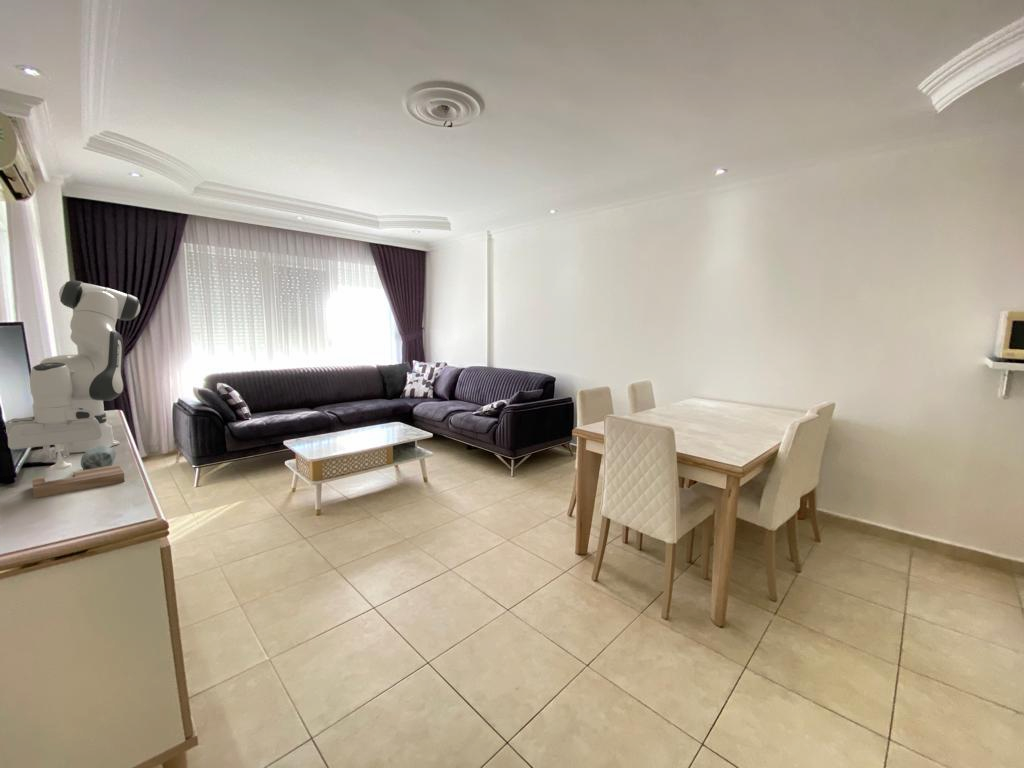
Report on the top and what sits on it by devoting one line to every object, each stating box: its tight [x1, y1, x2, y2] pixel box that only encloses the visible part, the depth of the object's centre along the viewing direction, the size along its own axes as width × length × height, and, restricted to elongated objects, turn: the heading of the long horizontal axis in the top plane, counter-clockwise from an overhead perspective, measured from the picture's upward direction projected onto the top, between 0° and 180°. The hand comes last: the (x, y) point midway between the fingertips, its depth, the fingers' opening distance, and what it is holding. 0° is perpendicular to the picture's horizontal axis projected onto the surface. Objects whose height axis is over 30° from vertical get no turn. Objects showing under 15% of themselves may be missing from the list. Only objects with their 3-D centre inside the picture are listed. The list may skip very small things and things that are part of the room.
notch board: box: [31, 464, 125, 499], centre depth 136 cm, size 12×20×3 cm, turn 139°
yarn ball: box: [80, 446, 117, 470], centre depth 150 cm, size 14×10×10 cm
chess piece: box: [49, 443, 73, 471], centre depth 133 cm, size 5×5×10 cm
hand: (59, 457), depth 133 cm, fingers closed on chess piece
